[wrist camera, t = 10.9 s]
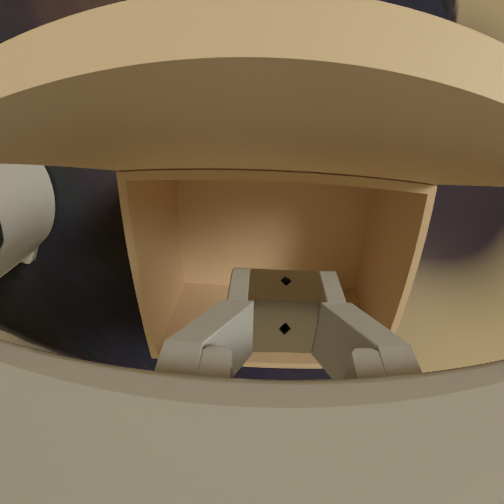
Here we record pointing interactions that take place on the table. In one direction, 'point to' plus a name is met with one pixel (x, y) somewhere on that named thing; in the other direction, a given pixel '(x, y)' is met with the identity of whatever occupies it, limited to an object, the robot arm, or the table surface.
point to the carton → (268, 240)
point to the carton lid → (257, 90)
